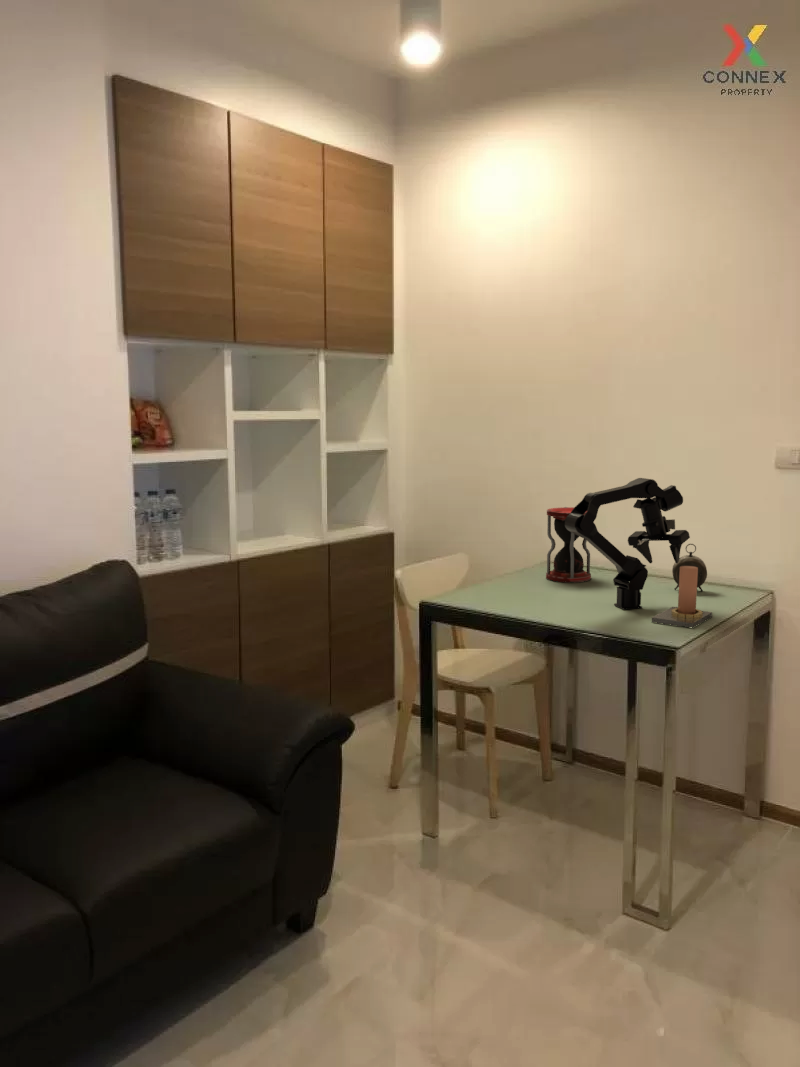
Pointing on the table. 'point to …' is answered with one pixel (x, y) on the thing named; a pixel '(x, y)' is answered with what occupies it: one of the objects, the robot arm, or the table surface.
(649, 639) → the table surface
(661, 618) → the plate
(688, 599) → the orange tapered capsule
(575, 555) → the hourglass
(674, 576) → the alarm clock
